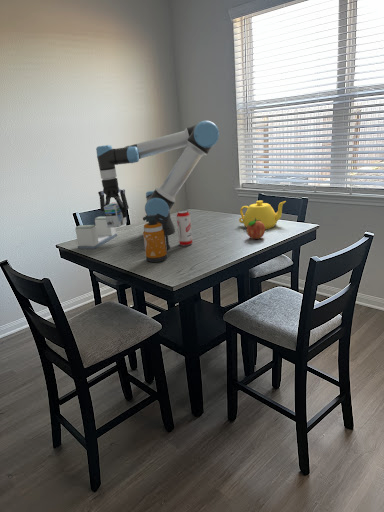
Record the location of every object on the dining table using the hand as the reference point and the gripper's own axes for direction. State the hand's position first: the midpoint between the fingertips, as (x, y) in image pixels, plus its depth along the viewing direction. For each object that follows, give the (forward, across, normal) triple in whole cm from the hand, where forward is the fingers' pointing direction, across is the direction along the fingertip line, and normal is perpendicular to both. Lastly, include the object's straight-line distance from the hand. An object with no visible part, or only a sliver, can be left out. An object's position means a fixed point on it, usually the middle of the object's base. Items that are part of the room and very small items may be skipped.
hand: (117, 224), depth 196 cm
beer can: (+11, -36, +1) cm, 37 cm away
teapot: (+12, -68, -32) cm, 76 cm away
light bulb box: (+1, 0, 0) cm, 1 cm away
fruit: (+12, -68, -9) cm, 69 cm away
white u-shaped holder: (+10, +14, -2) cm, 17 cm away
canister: (+11, -31, +23) cm, 40 cm away
